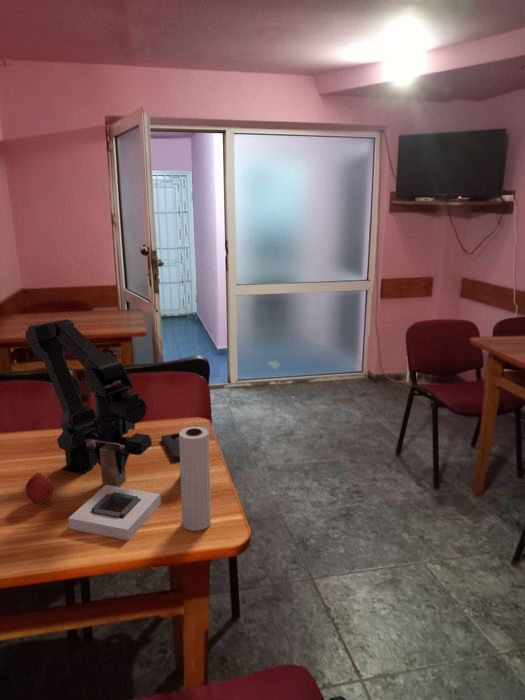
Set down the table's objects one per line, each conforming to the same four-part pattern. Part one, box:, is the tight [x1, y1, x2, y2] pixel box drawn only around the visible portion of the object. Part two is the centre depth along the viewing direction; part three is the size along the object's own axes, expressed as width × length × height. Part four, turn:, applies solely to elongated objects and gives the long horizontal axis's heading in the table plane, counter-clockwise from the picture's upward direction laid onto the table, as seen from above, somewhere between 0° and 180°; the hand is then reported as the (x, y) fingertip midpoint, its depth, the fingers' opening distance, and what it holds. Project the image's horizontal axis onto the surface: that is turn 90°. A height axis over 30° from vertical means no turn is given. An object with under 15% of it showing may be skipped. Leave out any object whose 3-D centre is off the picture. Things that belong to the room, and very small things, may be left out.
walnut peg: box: [99, 443, 127, 487], centre depth 125 cm, size 4×4×10 cm
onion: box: [25, 471, 54, 505], centre depth 117 cm, size 6×6×8 cm
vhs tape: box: [161, 432, 180, 463], centre depth 145 cm, size 14×8×2 cm, turn 24°
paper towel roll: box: [179, 422, 212, 532], centre depth 109 cm, size 7×6×21 cm
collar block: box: [68, 485, 161, 541], centre depth 113 cm, size 14×14×3 cm
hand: (113, 472), depth 126 cm, fingers closed on walnut peg, 4 cm apart
